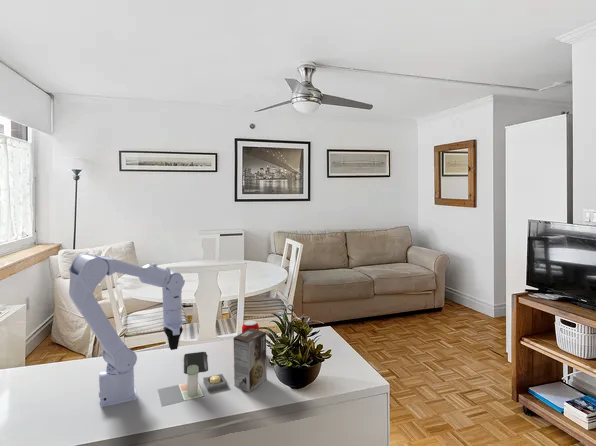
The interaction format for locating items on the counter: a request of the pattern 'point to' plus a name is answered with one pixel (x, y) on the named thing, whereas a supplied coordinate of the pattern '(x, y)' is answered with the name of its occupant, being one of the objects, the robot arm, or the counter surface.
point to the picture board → (176, 394)
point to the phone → (196, 361)
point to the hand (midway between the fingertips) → (173, 348)
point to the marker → (192, 380)
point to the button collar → (215, 386)
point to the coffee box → (250, 359)
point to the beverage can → (249, 325)
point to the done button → (215, 380)
